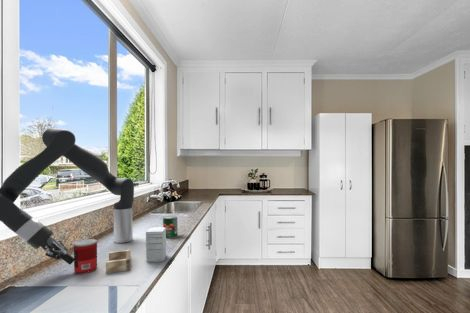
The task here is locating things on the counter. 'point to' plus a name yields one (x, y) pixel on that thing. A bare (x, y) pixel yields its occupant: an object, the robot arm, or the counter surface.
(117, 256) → the wooden bracket
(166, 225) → the canned tomato
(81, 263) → the canned food
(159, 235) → the supplement box
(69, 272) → the counter surface
